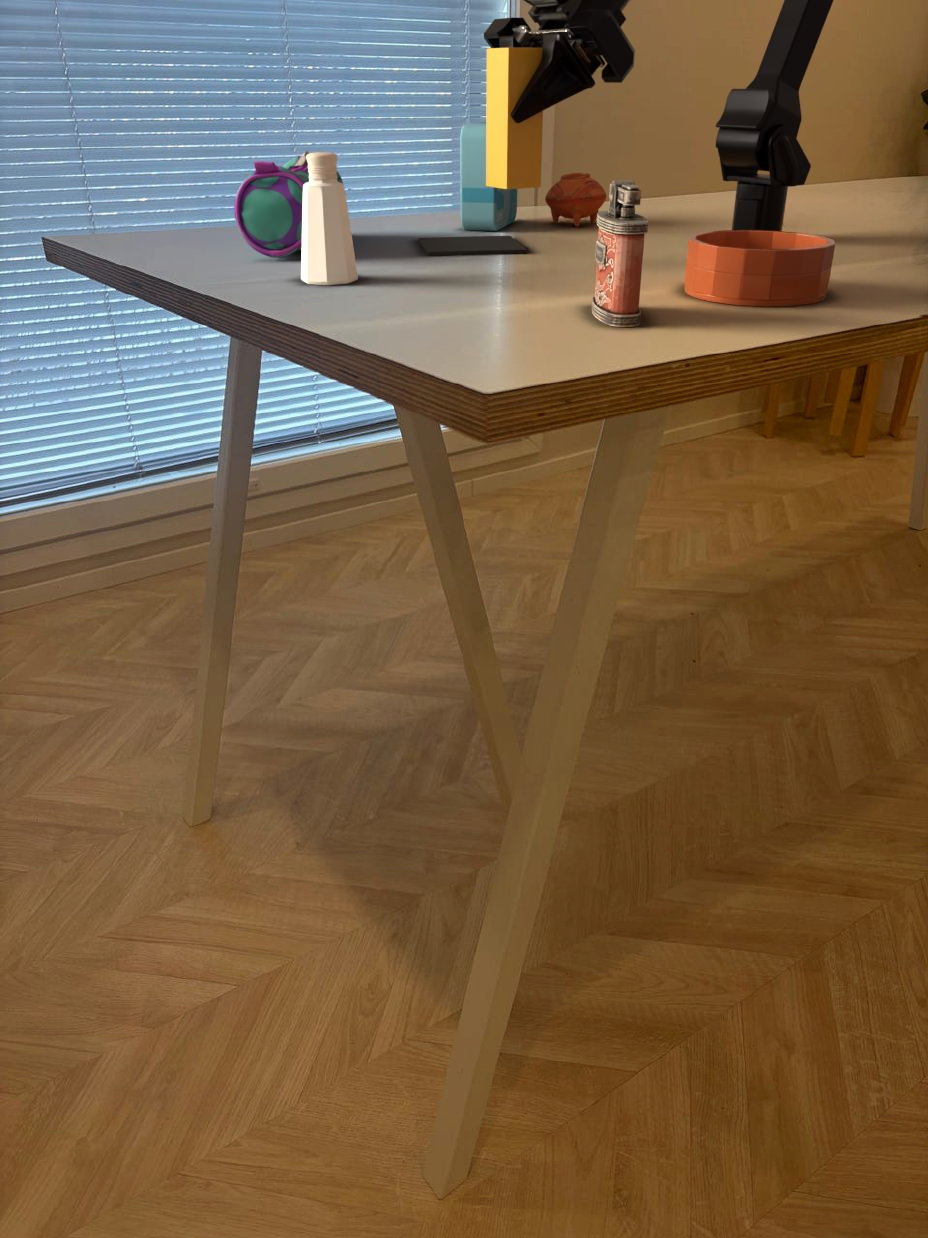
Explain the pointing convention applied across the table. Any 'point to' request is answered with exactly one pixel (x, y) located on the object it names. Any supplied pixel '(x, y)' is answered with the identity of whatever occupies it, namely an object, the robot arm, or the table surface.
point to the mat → (471, 245)
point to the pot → (575, 198)
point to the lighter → (619, 257)
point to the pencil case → (273, 206)
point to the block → (511, 120)
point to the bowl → (758, 267)
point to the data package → (481, 186)
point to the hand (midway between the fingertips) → (502, 118)
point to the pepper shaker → (326, 225)
